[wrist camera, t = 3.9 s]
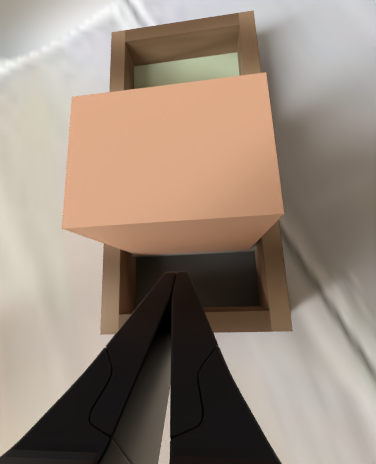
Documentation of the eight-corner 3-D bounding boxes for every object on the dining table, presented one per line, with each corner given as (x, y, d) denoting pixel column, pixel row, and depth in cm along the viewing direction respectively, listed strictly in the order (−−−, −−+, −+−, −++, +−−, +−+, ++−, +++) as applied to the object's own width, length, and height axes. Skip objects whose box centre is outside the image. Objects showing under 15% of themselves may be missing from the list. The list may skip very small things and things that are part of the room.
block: (248, 249, 15) (284, 213, 7) (139, 255, 16) (62, 228, 8) (241, 175, 16) (266, 72, 8) (139, 183, 17) (71, 97, 9)
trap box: (277, 321, 15) (292, 331, 12) (121, 325, 16) (100, 334, 13) (247, 52, 19) (253, 10, 16) (126, 68, 20) (111, 32, 17)
